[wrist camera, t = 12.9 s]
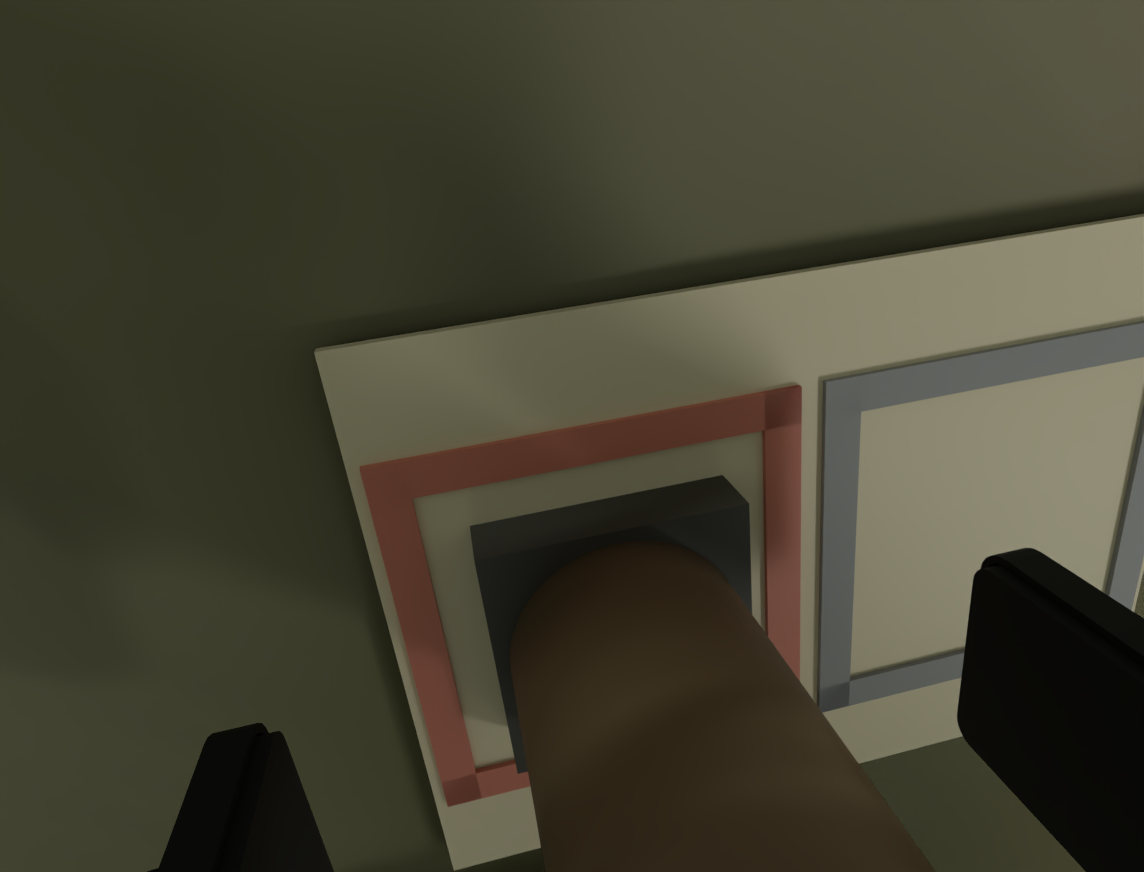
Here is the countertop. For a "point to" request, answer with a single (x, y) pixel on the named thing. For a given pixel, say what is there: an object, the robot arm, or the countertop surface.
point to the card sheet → (763, 469)
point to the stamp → (666, 697)
